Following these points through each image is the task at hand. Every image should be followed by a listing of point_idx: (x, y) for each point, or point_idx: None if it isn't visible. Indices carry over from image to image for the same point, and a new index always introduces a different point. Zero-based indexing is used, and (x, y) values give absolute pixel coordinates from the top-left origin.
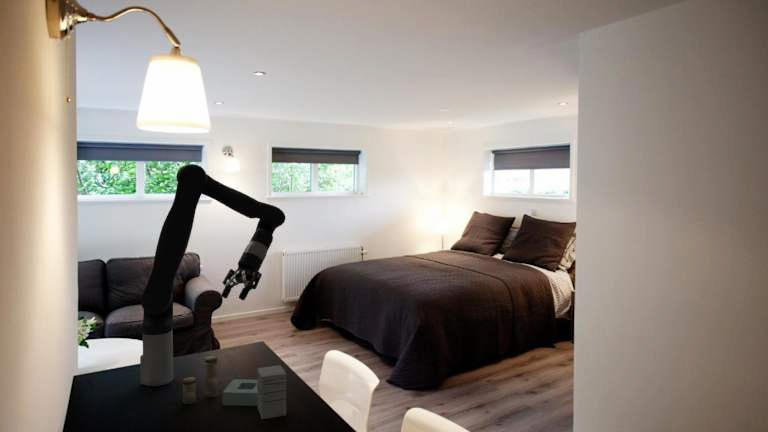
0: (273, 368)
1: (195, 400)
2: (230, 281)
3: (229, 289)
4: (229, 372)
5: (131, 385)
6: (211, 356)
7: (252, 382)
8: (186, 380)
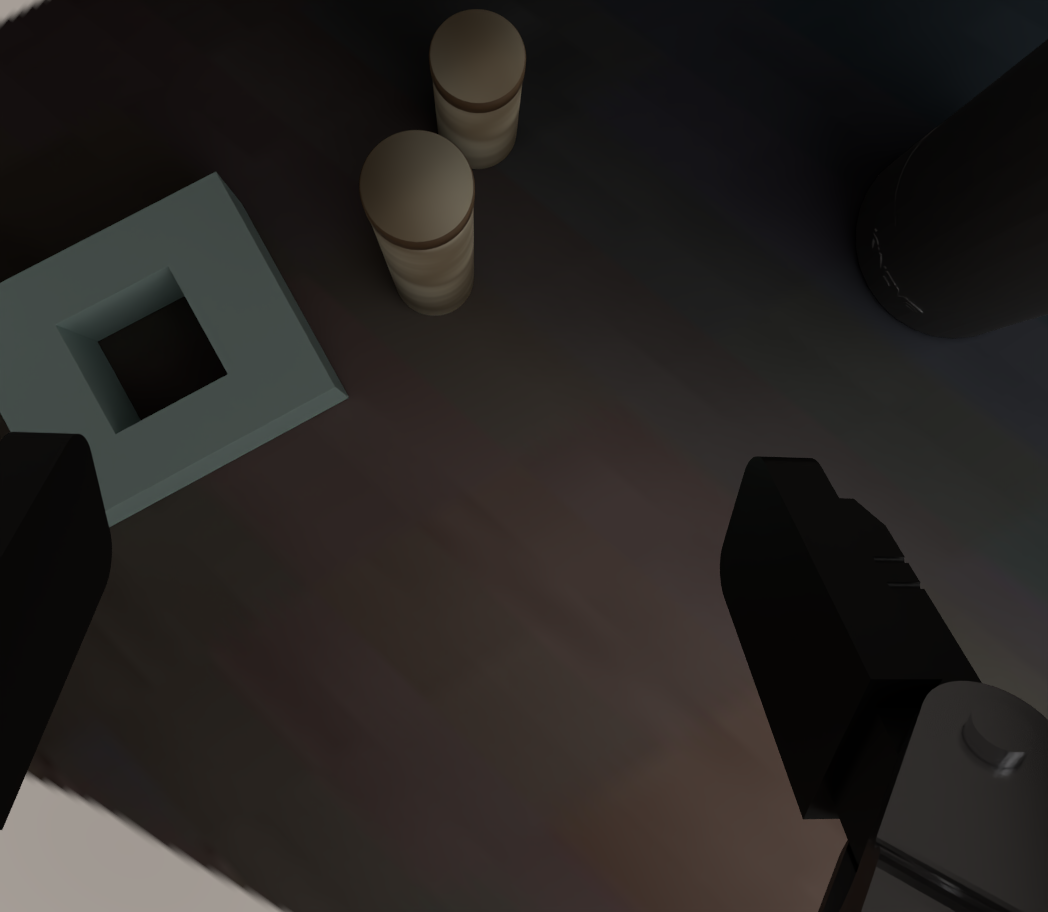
0: None
1: None
2: (903, 864)
3: (806, 736)
4: (652, 634)
5: None
6: (452, 218)
7: (155, 420)
8: (478, 30)
